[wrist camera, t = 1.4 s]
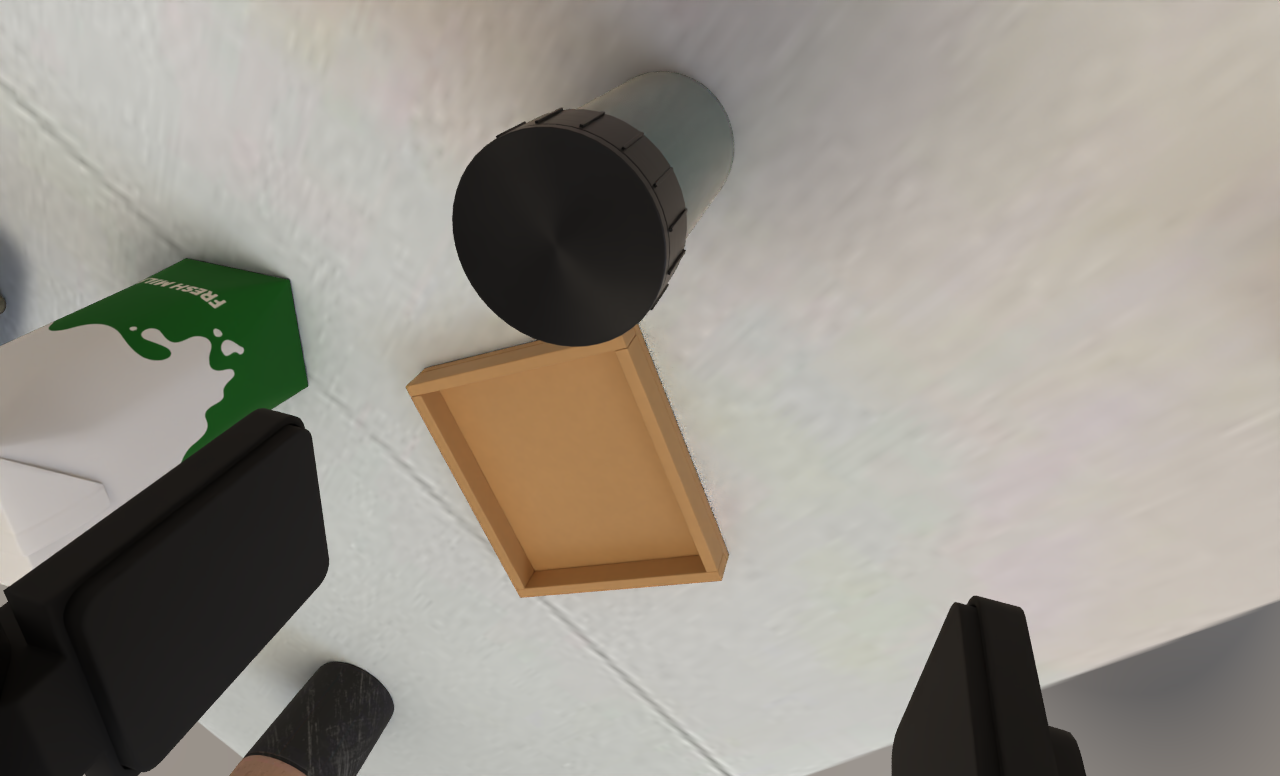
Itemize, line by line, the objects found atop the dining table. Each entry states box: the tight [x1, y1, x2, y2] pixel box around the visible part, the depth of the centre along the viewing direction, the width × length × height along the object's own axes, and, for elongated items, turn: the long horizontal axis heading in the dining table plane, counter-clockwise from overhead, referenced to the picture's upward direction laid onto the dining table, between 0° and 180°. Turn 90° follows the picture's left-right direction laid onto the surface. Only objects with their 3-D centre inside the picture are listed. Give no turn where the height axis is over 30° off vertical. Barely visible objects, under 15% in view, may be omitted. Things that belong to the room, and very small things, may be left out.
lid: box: [452, 108, 688, 347], centre depth 24 cm, size 7×7×3 cm
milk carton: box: [0, 258, 308, 586], centre depth 38 cm, size 9×9×20 cm
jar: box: [577, 71, 734, 238], centre depth 29 cm, size 6×6×12 cm
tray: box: [406, 324, 729, 598], centre depth 43 cm, size 15×13×2 cm
